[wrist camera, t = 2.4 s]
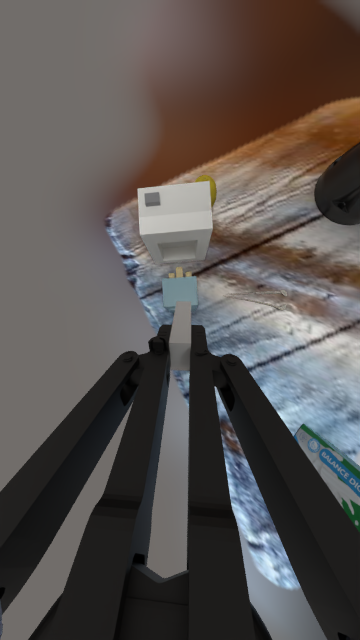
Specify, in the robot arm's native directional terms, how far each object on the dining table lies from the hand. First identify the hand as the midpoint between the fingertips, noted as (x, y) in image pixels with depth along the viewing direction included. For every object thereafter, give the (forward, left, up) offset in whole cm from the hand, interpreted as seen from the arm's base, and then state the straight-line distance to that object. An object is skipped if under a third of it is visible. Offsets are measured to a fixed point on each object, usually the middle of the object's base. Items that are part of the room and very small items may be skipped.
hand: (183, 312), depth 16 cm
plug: (+1, -6, -20) cm, 21 cm away
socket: (+1, -17, -20) cm, 26 cm away
